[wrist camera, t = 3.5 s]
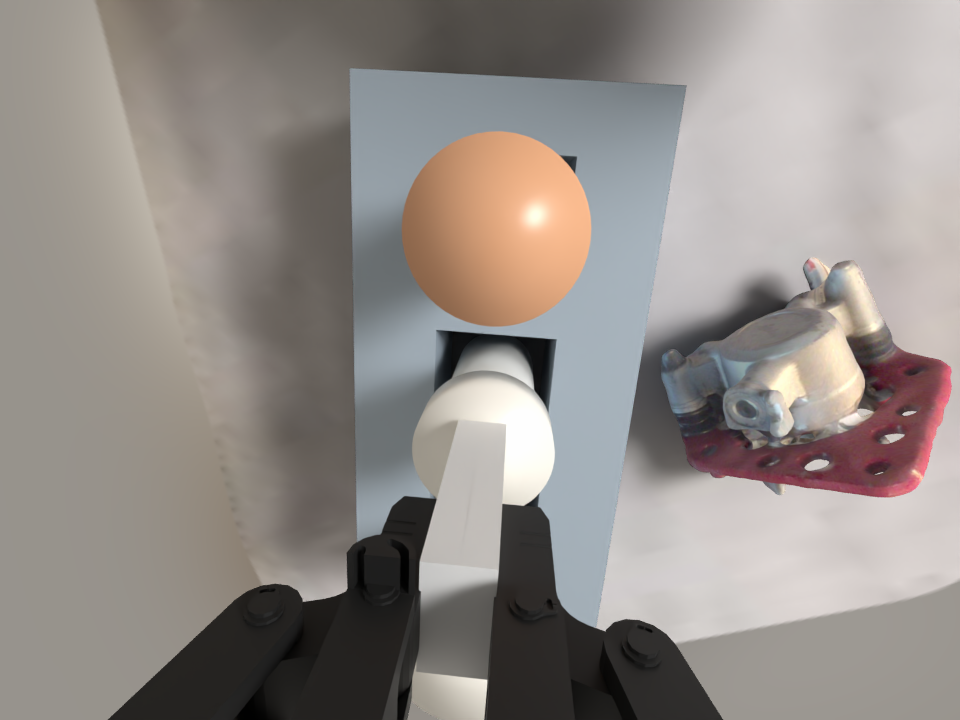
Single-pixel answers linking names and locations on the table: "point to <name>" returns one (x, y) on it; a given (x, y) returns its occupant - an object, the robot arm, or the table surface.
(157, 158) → the table surface
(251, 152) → the table surface
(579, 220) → the peach ball knob
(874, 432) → the brake caliper
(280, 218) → the table surface
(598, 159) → the blue peg holder block
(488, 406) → the cream plunger
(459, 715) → the cream plunger
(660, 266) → the table surface
